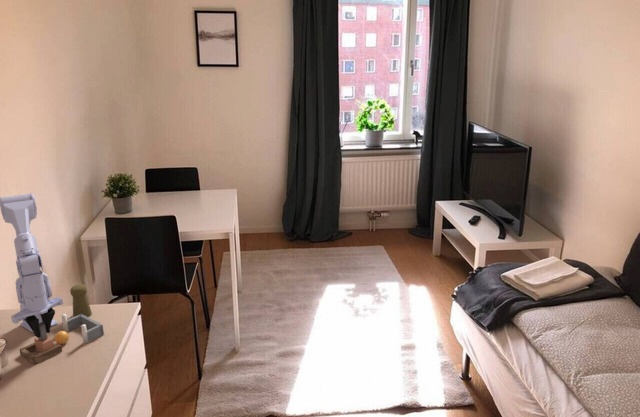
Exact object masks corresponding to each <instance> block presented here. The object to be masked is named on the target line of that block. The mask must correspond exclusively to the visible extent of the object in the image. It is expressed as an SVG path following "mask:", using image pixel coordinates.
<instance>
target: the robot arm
mask: <svg viewBox="0 0 640 417" xmlns="http://www.w3.org/2000/svg"><path fill="white" fill-rule="evenodd" d="M37 209H38V207H37V202H36V197H35V194H34V193H32V192H30V193H25V194H17V195H10V196H0V212H1V216H2V220H4V223H7V224H11V225H12V227H13V228H14V230H15V235H16V237H15V238H14V240H13V243H14V248H15V255H16V260H15V264H16V271H17V274H18V277H17V279H16V280H15V291H16V295H17V296H16V297H17V301H18V303H19V304H20V306H19V310H20V311H18V312H17V313H15V314H12V315H11V316H10V319H11V323H13V324H15V325H16V324H18V323H19V322H20V326H21V327H23V328H24V329H26V330H28V331H29V332H32V334H34V337H35V338H36V337H37V338H39V337H40V330H39V323H40V322H44V323H45V325H46V331H47V334H50V333H51V327H53V326H56V325H58V324H59V323H58V321H56V320H55V319H54V317H55V314H56V310H55V309H54V308H55V307H57V306H63V305H64V299H63V298H62V297H60V296H57V297H54V298H52V297H53V291H52V285H51V282H50V278H49V275H48V274H47V273H45V272H44V262H43V259H42V258H43V257H42V255H41V253H40V249H38V243H37V238H36V237H35V235H33V234H32V233H31V227H30V226H31V222H32V221H34V220H35V219H36V218H37V215H38V214H37V213H38V210H37ZM50 298H51V299H50ZM21 321H22V322H21Z"/></svg>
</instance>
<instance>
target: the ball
mask: <svg viewBox="0 0 640 417" xmlns="http://www.w3.org/2000/svg"><path fill="white" fill-rule="evenodd" d="M69 339H70V335H69V332H65V331H64V330H60V331H58V332H57V333H55V335H54V341H55V343H56V344H57V345H58V344H60V345H64V344H66V343H67V342H68V341H69Z"/></svg>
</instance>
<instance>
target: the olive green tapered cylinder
mask: <svg viewBox="0 0 640 417" xmlns="http://www.w3.org/2000/svg"><path fill="white" fill-rule="evenodd" d="M69 291H70V295H71V297H72V318H73V317H75V316H77V315H80V314H83V315H85V316H86V317H88V318H90V317H91V316H92V315H93V312H92V309H91V306H90V302H89V299H88V296H87V293H88V289H87V286H86V285H85V284H82V283H80V284H79V283H77V284H75V285H73V286H71V288H70V290H69Z"/></svg>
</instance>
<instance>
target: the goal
mask: <svg viewBox="0 0 640 417" xmlns="http://www.w3.org/2000/svg"><path fill="white" fill-rule="evenodd" d="M61 321H62V327H63V331H65V332H67V333H69V332H70V331H73V330H74V329H76V328H79V327H80V328H81V334H82V341H83V344H85V345H86V344H88V343H90V342H92V341H94V340H96V339H97V338H99V337H102V336H105V332H104V325H103V324H101V322H98V321H95V319H91V318H90V317H86V316H85V315H83V314H80V315H77V316H75V317H73V316H72V317H71V318H69V319H68V318H67V314H66V313H62V314H61Z"/></svg>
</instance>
